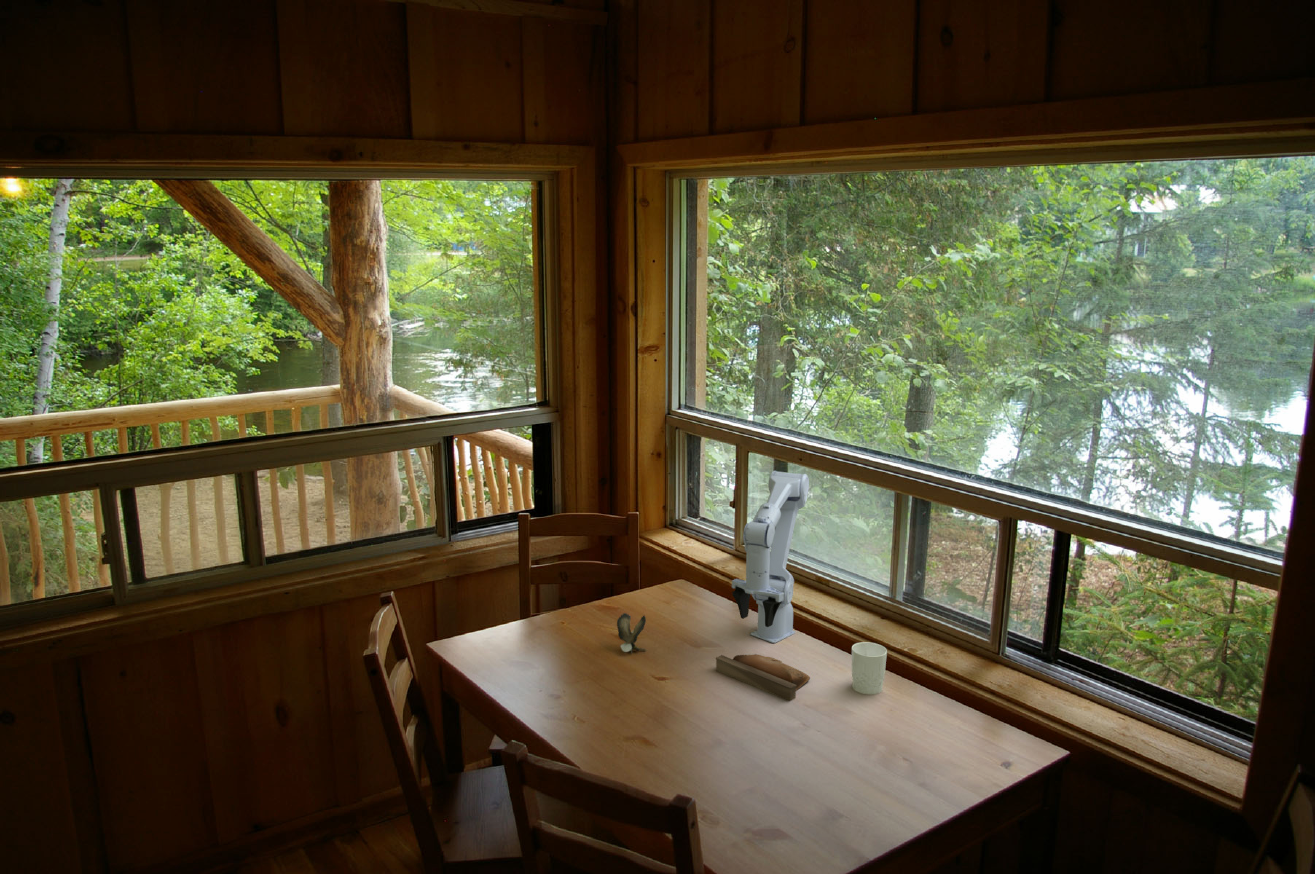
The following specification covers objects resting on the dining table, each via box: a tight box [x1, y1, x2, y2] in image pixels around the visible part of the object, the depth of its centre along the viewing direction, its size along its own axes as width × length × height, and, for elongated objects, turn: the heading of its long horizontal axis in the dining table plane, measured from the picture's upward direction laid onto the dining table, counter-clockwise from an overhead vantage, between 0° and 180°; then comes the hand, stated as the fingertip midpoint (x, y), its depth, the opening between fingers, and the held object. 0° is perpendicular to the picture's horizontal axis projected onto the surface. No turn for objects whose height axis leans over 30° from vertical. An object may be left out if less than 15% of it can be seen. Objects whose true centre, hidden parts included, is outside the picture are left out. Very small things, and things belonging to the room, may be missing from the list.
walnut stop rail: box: [715, 654, 797, 702], centre depth 207 cm, size 2×22×3 cm, turn 45°
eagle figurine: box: [616, 612, 648, 655], centre depth 225 cm, size 8×7×9 cm
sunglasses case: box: [732, 653, 811, 692], centre depth 211 cm, size 18×7×7 cm
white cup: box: [851, 641, 888, 695], centre depth 204 cm, size 8×8×10 cm
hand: (756, 621), depth 222 cm, fingers open, 7 cm apart
